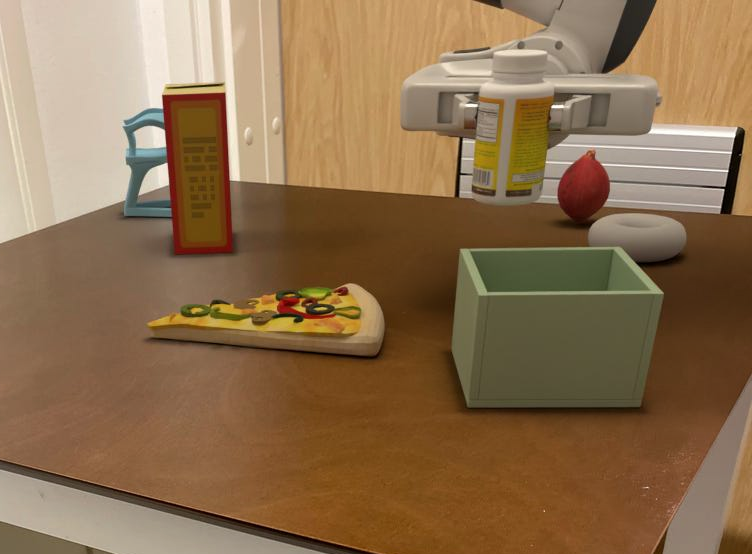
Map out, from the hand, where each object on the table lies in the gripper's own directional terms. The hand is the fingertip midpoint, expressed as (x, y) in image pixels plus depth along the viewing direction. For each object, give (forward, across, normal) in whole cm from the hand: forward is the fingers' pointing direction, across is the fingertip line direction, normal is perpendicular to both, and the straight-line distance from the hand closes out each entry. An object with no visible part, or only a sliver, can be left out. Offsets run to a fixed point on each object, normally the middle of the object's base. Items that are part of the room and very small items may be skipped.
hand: (511, 117), depth 73 cm
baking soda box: (-24, +37, -17) cm, 47 cm away
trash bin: (+8, -5, -17) cm, 19 cm away
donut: (-31, -10, -17) cm, 37 cm away
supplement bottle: (-1, 0, -6) cm, 6 cm away
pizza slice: (+4, +19, -17) cm, 26 cm away
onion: (-43, -3, -17) cm, 47 cm away
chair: (-36, +49, -17) cm, 64 cm away
